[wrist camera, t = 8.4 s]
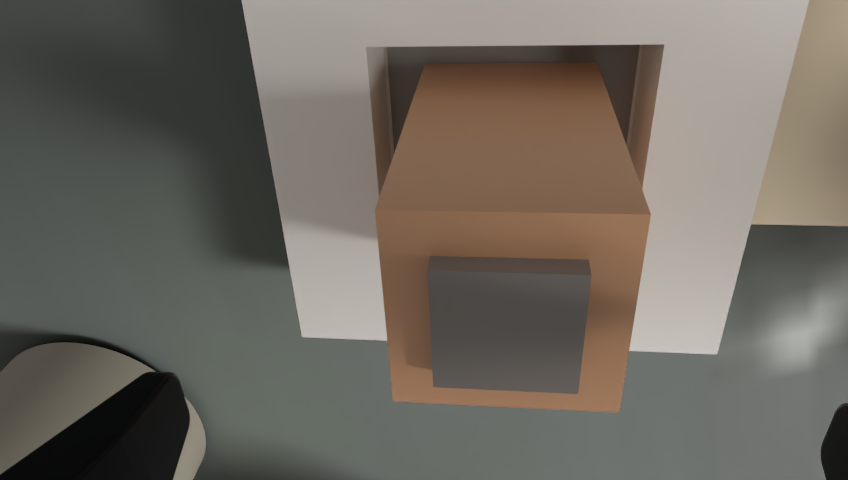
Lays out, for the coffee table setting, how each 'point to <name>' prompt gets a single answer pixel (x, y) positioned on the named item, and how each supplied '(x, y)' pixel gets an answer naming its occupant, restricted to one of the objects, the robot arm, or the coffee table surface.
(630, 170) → the plug
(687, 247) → the socket block
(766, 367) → the coffee table surface
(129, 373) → the travel mug
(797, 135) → the tray slab
